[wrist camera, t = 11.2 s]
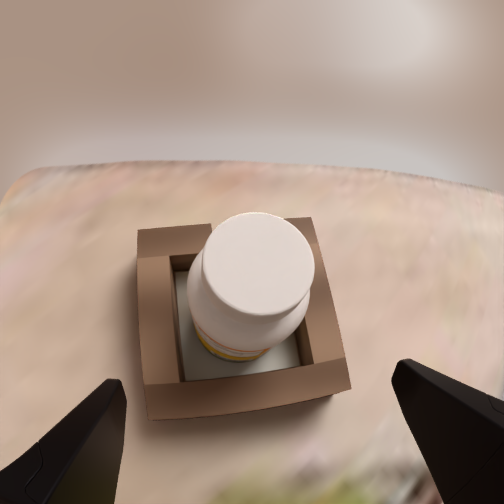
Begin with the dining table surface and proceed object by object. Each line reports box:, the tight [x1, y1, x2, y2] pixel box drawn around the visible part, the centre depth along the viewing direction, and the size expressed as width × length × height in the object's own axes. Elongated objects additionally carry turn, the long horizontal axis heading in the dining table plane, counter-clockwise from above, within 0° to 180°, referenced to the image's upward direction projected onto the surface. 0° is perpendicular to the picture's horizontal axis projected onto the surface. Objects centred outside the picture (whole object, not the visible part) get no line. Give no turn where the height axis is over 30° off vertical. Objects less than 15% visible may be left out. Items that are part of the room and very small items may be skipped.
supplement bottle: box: [187, 212, 315, 363], centre depth 15 cm, size 5×5×10 cm
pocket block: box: [137, 217, 351, 420], centre depth 19 cm, size 12×12×4 cm
